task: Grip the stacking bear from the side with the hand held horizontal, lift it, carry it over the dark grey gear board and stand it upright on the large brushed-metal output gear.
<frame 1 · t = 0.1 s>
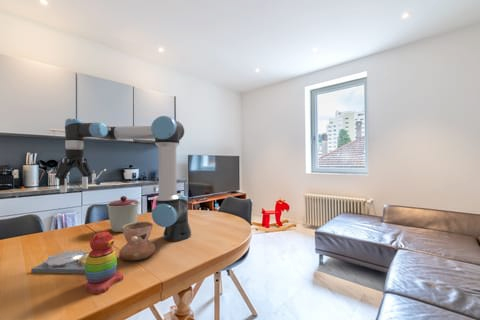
hand: (74, 190, 112), 28 cm above the table, tool pointing down, fingers open, 13 cm apart
stacking bear: (102, 284, 76), on the table
gear board: (76, 263, 91), on the table
output gear: (66, 263, 91), resting on gear board
canister: (123, 230, 136), on the table
ceramic jug: (138, 256, 97), on the table
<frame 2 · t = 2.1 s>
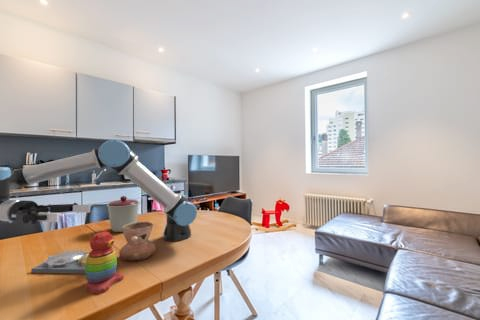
hand: (75, 212, 77), 24 cm above the table, tool horizontal, fingers open, 13 cm apart
nothing on the table moved.
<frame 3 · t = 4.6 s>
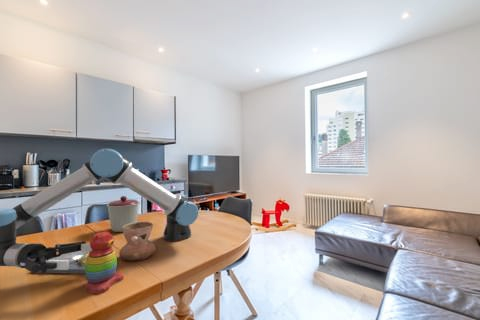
hand: (84, 255, 76), 10 cm above the table, tool horizontal, fingers open, 13 cm apart
nothing on the table moved.
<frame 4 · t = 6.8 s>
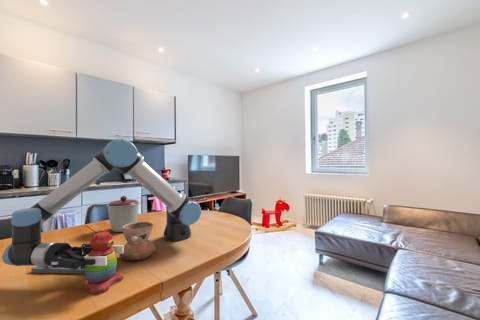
hand: (115, 254, 75), 10 cm above the table, tool horizontal, fingers closed on stacking bear, 9 cm apart
stacking bear: (102, 284, 76), on the table, touching gripper
everything else where it was.
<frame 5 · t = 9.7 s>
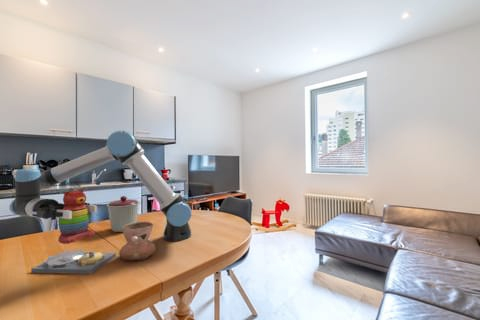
hand: (83, 211, 80), 24 cm above the table, tool horizontal, fingers closed on stacking bear, 9 cm apart
stacking bear: (75, 238, 82), point 14 cm above the table, touching gripper
everything else where it was.
when the fingers open (14 cm above the table, at t = 12.8 s): stacking bear drops 1 cm, resting on output gear.
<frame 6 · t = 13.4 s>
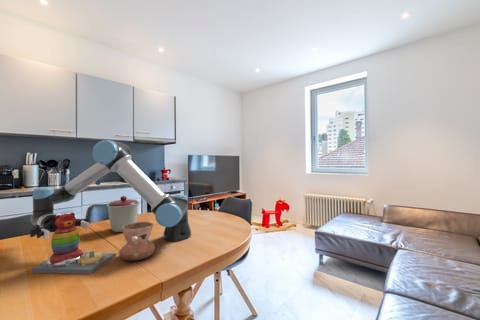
hand: (69, 230, 89), 14 cm above the table, tool horizontal, fingers open, 13 cm apart
stacking bear: (66, 256, 91), point 3 cm above the table, touching output gear
everything else where it was.
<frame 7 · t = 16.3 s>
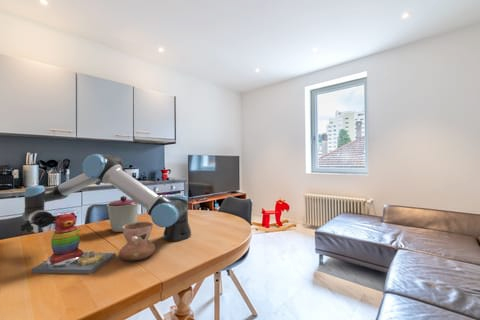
hand: (57, 225, 96), 15 cm above the table, tool horizontal, fingers open, 13 cm apart
nothing on the table moved.
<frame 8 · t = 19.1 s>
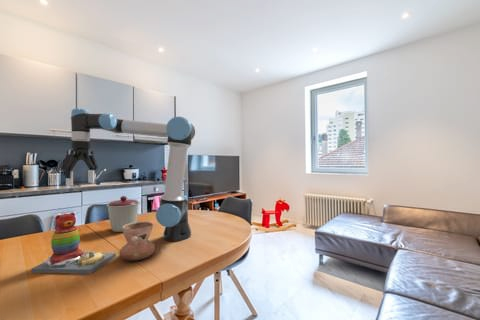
hand: (81, 183, 107), 32 cm above the table, tool pointing down, fingers open, 13 cm apart
nothing on the table moved.
at the end: stacking bear inside the target area on the output gear (0.2 cm from its centre), point 2.8 cm above the output gear's base; stacking bear tilted 0°; the gripper is holding nothing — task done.
